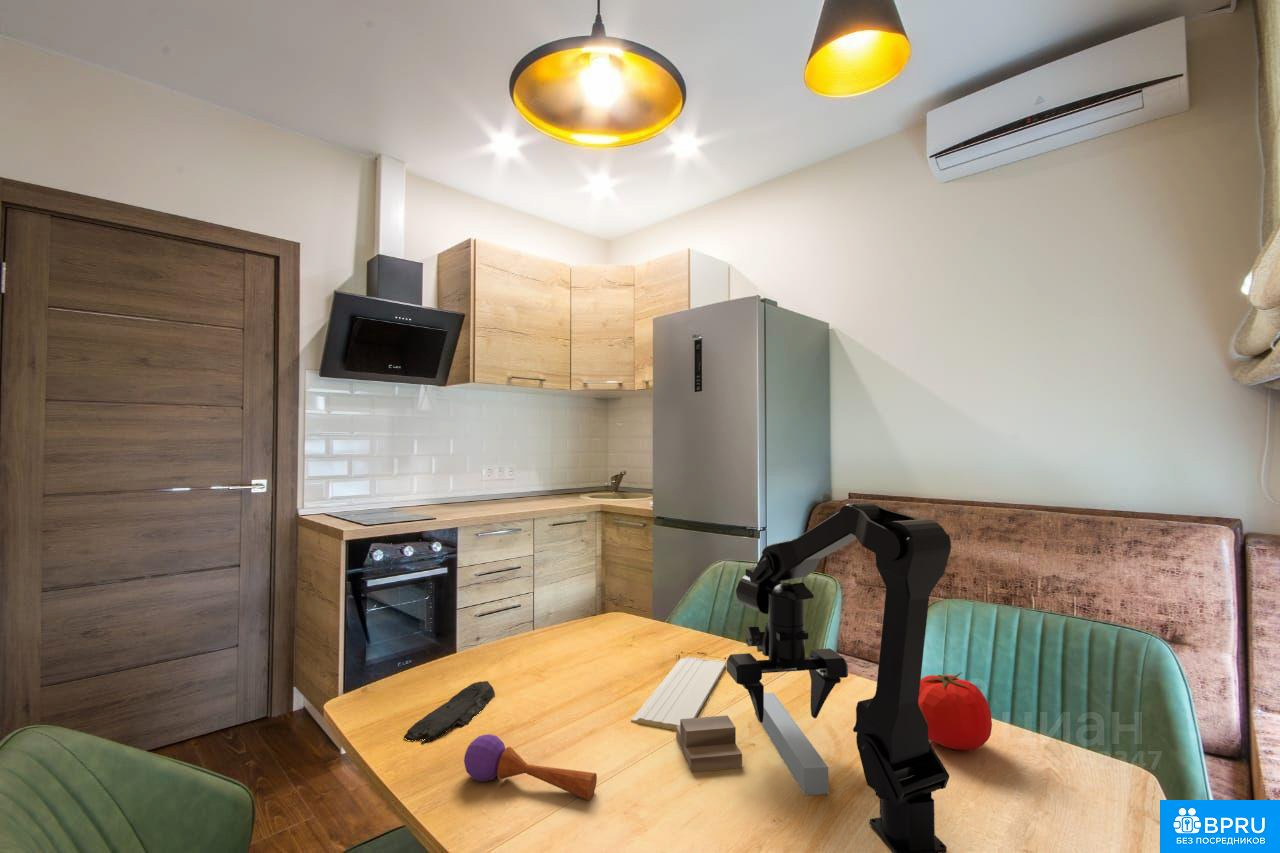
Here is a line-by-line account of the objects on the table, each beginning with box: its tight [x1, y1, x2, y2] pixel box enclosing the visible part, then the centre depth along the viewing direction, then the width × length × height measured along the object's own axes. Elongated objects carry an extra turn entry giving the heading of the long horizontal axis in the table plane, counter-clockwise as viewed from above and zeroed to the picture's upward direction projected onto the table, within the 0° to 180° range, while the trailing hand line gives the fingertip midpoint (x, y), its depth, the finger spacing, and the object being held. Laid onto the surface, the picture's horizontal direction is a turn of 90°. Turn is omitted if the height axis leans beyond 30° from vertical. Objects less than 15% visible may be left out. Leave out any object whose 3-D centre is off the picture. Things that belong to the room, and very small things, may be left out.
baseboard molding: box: [630, 651, 727, 731], centre depth 112 cm, size 31×3×12 cm
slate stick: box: [754, 692, 830, 796], centre depth 90 cm, size 24×4×4 cm, turn 5°
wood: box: [403, 680, 496, 745], centre depth 102 cm, size 22×7×3 cm, turn 162°
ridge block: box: [675, 715, 743, 773], centre depth 89 cm, size 10×8×4 cm
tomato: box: [918, 671, 993, 751], centre depth 92 cm, size 12×12×11 cm
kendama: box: [463, 733, 598, 802], centre depth 80 cm, size 6×6×20 cm
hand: (787, 719), depth 90 cm, fingers open, 9 cm apart
